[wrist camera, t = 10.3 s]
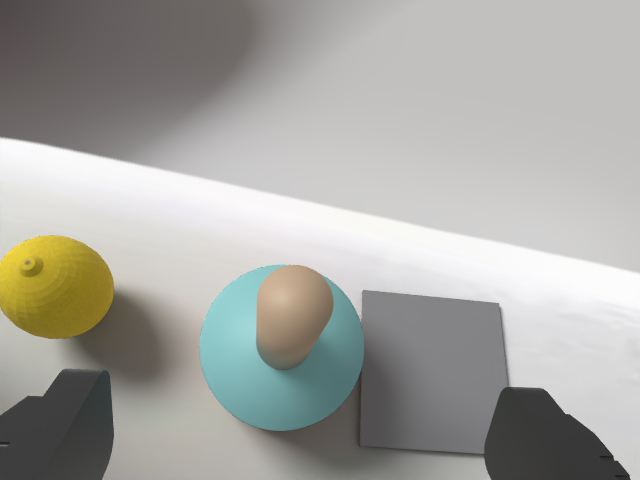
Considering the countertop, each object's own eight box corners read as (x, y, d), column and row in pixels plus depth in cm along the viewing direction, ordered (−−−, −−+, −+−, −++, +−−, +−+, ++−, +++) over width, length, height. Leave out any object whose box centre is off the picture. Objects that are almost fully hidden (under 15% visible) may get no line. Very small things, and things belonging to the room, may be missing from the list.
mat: (359, 445, 28) (360, 445, 28) (362, 291, 32) (363, 290, 32) (512, 455, 29) (515, 455, 29) (496, 304, 33) (499, 303, 33)
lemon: (142, 321, 30) (105, 282, 22) (55, 367, 28) (-16, 341, 21) (107, 252, 31) (63, 195, 24) (23, 291, 29) (-53, 242, 22)
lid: (188, 425, 24) (152, 416, 15) (215, 265, 28) (197, 187, 19) (356, 436, 25) (410, 434, 16) (360, 280, 28) (406, 211, 20)
